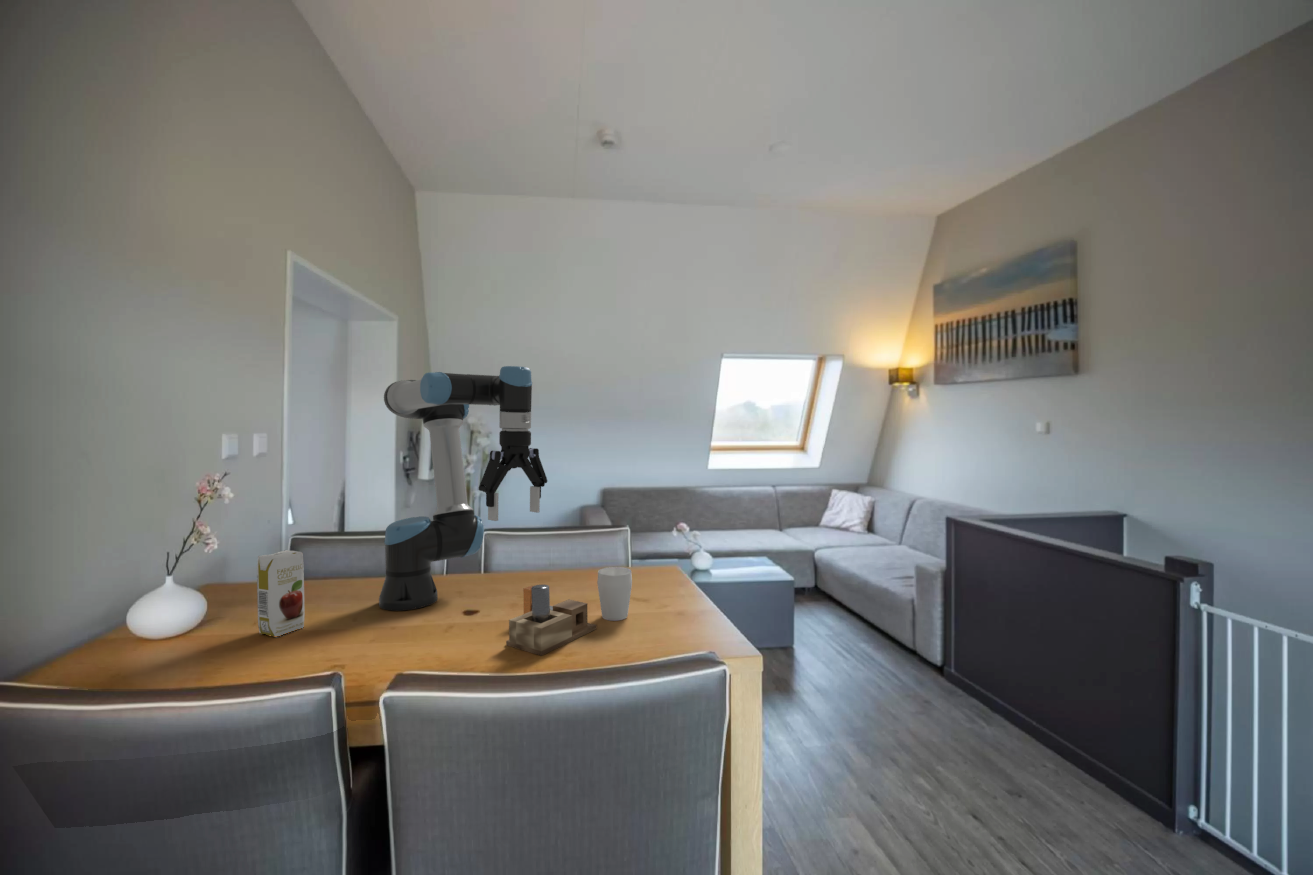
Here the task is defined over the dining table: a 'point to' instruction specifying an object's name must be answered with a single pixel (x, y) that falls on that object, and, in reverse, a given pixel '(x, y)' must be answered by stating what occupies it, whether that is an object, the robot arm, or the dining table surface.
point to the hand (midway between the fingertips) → (514, 515)
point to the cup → (614, 592)
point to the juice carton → (280, 592)
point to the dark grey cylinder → (540, 603)
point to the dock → (576, 624)
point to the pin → (529, 600)
